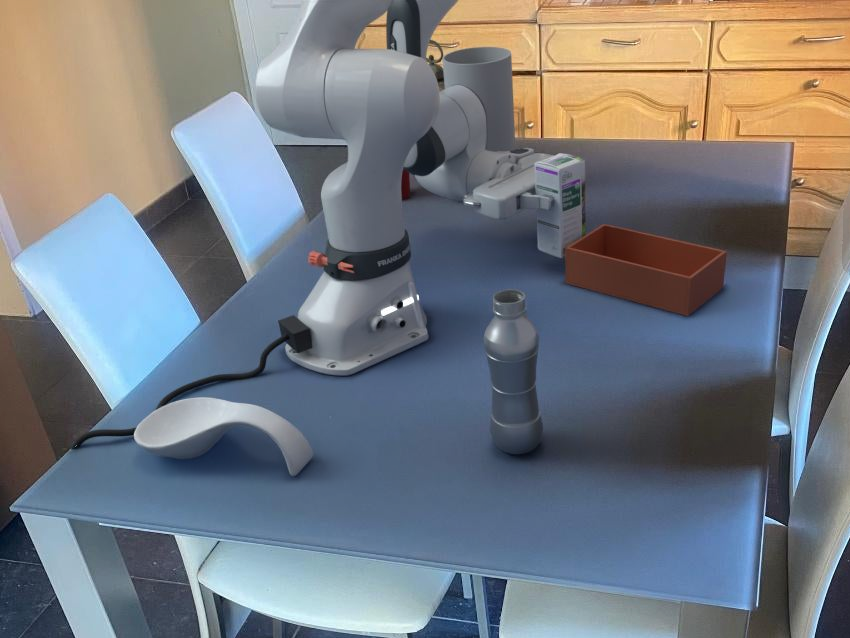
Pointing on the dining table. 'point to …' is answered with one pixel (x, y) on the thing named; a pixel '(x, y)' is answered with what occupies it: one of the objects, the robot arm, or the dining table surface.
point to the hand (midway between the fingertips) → (565, 195)
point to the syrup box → (560, 202)
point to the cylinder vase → (487, 88)
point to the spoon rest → (216, 429)
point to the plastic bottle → (513, 374)
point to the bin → (646, 268)
